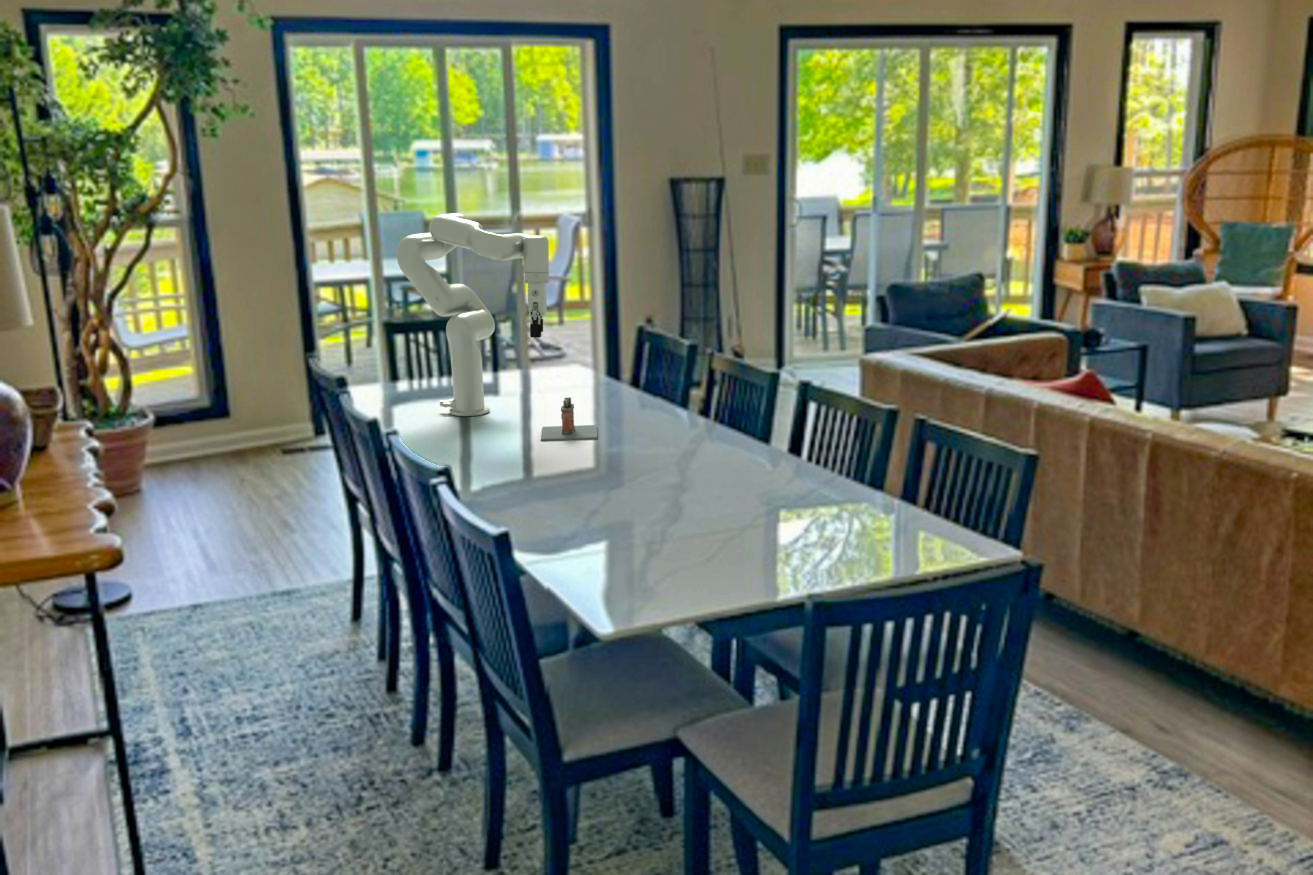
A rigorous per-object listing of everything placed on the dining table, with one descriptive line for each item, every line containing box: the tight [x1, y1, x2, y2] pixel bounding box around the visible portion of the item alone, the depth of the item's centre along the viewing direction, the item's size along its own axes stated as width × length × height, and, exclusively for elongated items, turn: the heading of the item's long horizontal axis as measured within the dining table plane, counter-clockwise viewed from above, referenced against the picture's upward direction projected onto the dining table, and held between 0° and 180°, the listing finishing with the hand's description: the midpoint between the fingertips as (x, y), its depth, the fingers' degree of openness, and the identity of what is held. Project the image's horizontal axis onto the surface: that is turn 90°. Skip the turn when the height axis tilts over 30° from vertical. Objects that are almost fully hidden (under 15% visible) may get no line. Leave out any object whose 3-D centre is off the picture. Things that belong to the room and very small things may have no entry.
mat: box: [540, 424, 598, 442], centre depth 329 cm, size 16×15×1 cm
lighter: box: [560, 397, 576, 435], centre depth 328 cm, size 8×3×10 cm, turn 173°
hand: (536, 334), depth 341 cm, fingers open, 9 cm apart
